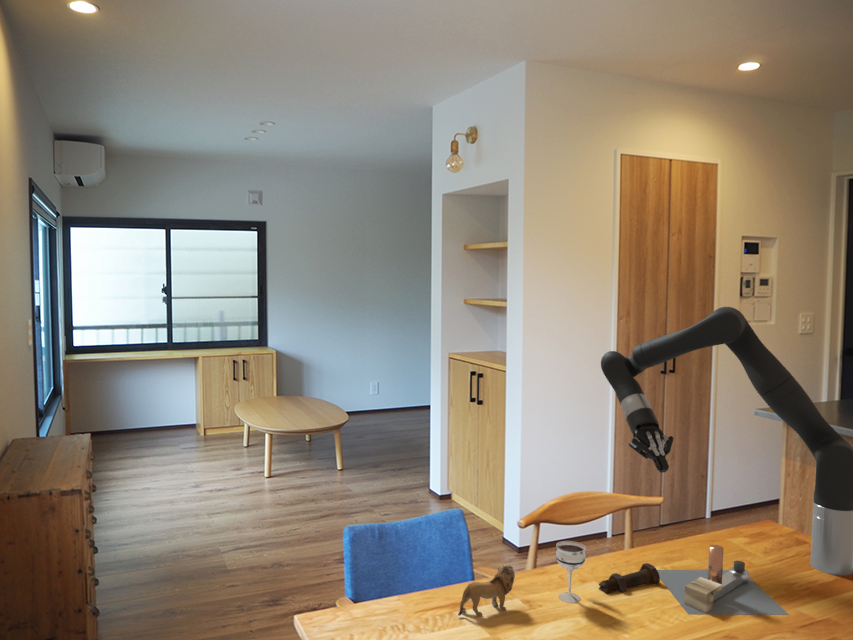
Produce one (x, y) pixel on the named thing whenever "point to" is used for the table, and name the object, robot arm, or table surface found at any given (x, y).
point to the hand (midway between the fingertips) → (664, 470)
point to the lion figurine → (489, 589)
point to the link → (716, 569)
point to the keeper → (701, 593)
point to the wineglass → (570, 564)
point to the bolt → (630, 579)
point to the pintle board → (732, 603)
